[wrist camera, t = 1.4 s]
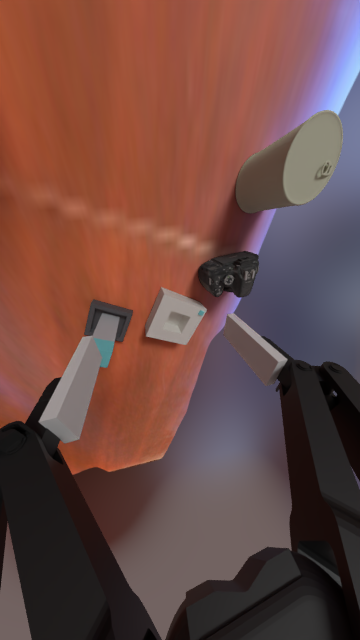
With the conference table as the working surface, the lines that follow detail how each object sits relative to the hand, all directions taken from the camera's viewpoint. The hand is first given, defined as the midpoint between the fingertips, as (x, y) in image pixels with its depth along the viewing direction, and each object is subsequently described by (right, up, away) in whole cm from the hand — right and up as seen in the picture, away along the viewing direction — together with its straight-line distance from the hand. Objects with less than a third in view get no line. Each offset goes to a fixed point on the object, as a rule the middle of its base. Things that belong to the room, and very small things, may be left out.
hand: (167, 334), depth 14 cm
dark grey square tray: (-17, +1, +22) cm, 28 cm away
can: (+17, +29, +15) cm, 37 cm away
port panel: (-1, +3, +26) cm, 26 cm away
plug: (-17, +1, +22) cm, 28 cm away
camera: (+12, +15, +23) cm, 30 cm away
